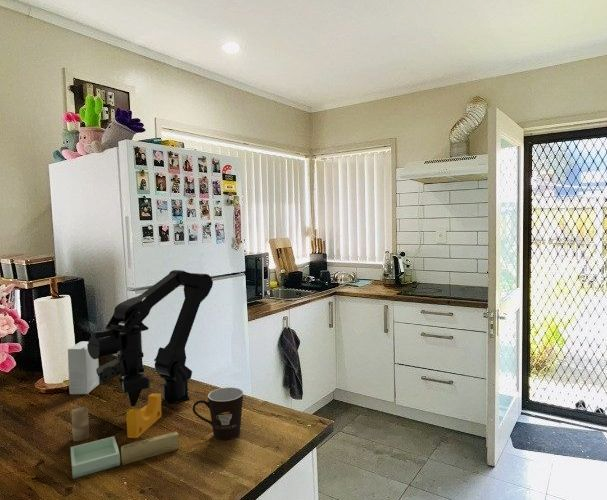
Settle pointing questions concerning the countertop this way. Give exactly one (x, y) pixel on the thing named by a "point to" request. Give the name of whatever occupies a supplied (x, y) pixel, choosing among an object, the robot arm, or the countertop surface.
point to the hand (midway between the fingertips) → (133, 405)
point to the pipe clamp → (143, 416)
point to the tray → (94, 456)
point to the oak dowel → (80, 424)
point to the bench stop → (149, 447)
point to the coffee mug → (224, 412)
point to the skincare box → (82, 369)
